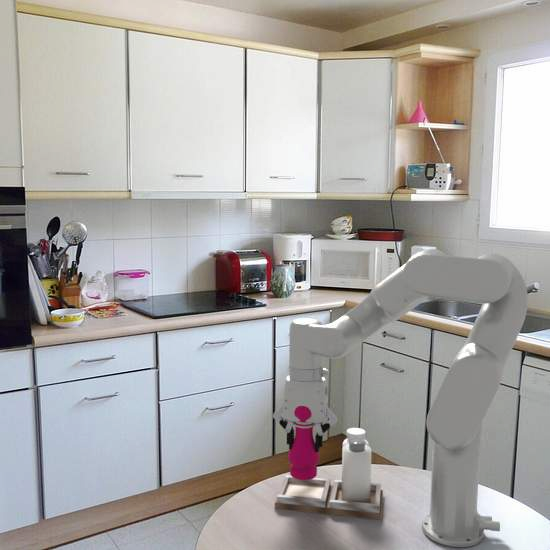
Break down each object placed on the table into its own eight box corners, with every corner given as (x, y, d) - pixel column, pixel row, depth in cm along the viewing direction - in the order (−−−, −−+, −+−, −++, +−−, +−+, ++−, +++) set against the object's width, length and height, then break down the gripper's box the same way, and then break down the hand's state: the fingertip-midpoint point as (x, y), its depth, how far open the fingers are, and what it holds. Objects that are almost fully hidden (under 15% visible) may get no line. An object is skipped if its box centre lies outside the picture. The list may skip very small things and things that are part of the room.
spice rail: (382, 495, 149) (383, 484, 149) (381, 519, 139) (381, 506, 138) (283, 486, 154) (283, 474, 154) (274, 508, 143) (274, 496, 143)
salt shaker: (371, 493, 147) (372, 437, 146) (369, 507, 141) (370, 449, 139) (342, 490, 149) (343, 435, 147) (340, 504, 142) (341, 447, 140)
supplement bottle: (372, 478, 158) (374, 429, 157) (361, 488, 153) (363, 438, 151) (348, 471, 162) (349, 424, 160) (337, 481, 156) (338, 432, 155)
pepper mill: (316, 482, 142) (318, 398, 140) (285, 479, 144) (286, 395, 141) (320, 469, 149) (322, 388, 147) (290, 466, 151) (291, 385, 148)
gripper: (344, 370, 145) (343, 445, 148) (272, 366, 149) (271, 439, 151) (341, 380, 138) (339, 458, 140) (265, 375, 141) (265, 451, 144)
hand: (304, 447), depth 146 cm, fingers closed on pepper mill, 5 cm apart
